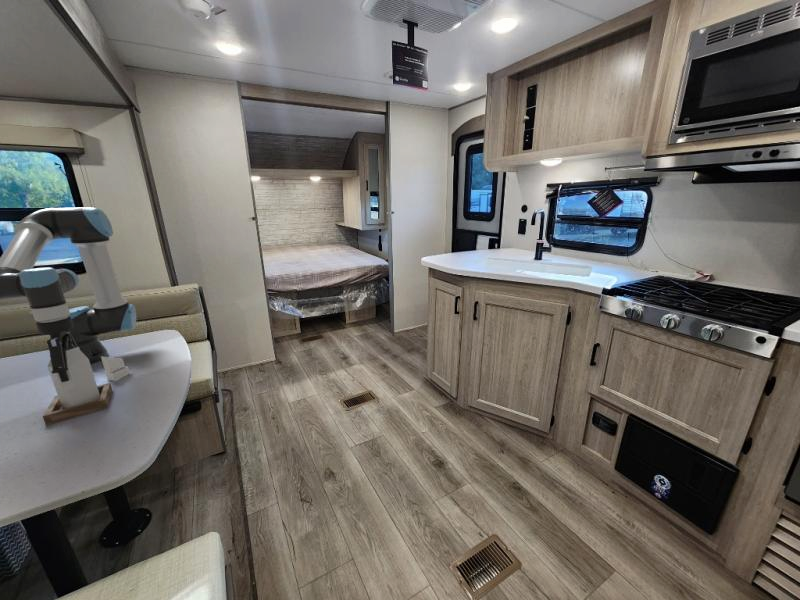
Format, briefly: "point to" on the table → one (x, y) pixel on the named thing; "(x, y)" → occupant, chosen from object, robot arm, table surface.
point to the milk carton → (77, 380)
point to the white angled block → (114, 368)
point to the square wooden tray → (77, 407)
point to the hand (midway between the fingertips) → (74, 380)
